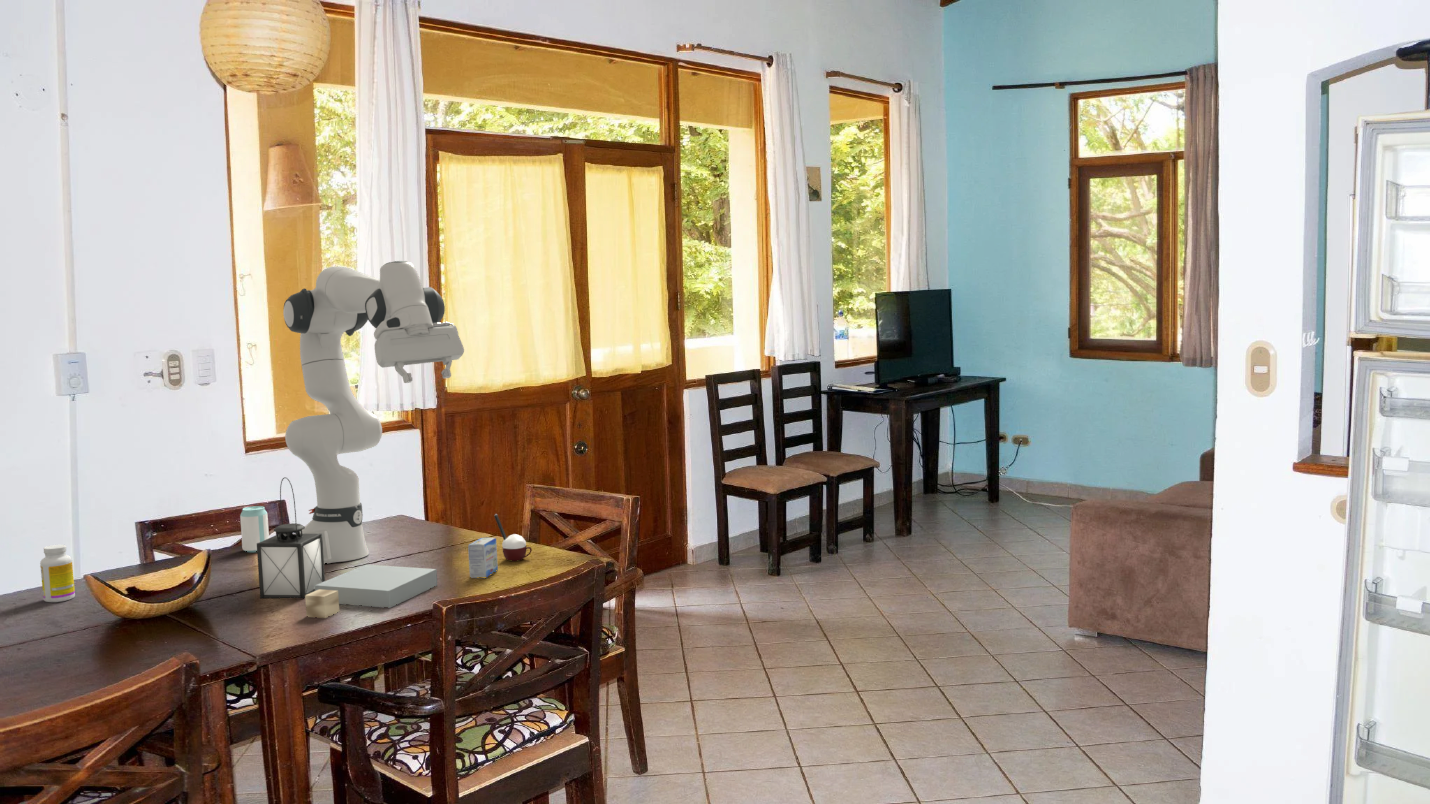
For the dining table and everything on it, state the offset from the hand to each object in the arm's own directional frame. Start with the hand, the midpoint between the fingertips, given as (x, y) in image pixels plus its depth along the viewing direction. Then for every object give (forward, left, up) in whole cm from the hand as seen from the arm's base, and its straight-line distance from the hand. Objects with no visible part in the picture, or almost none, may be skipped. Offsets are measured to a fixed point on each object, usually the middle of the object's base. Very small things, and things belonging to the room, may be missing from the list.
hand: (428, 379), depth 264 cm
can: (-77, +31, -51) cm, 98 cm away
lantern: (-37, -4, -51) cm, 64 cm away
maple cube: (-18, -18, -51) cm, 58 cm away
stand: (-16, 0, -51) cm, 54 cm away
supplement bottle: (-89, -23, -51) cm, 106 cm away
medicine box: (0, +22, -51) cm, 56 cm away
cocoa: (0, +38, -51) cm, 64 cm away
